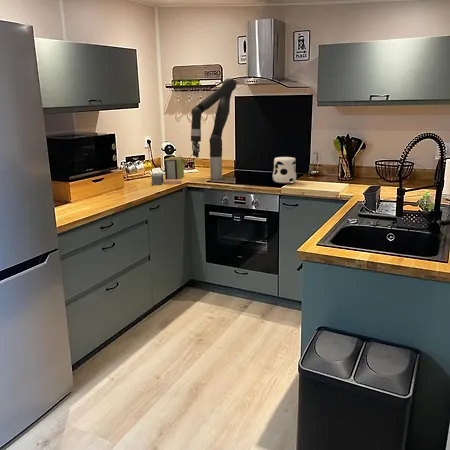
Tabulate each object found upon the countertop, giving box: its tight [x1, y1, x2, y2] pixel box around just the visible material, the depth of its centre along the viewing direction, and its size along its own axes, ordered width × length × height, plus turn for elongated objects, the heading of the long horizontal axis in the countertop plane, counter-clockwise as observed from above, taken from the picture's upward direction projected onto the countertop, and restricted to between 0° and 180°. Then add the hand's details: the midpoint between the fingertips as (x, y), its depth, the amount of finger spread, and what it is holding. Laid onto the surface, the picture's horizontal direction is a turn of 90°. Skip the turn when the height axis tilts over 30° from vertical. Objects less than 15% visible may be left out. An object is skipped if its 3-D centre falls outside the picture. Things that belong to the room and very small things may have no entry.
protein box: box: [163, 156, 185, 180], centre depth 355 cm, size 10×15×16 cm
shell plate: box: [162, 178, 183, 185], centre depth 337 cm, size 13×8×2 cm, turn 90°
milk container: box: [272, 156, 297, 185], centre depth 329 cm, size 17×17×18 cm
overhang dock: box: [150, 172, 165, 186], centre depth 337 cm, size 7×12×6 cm, turn 0°
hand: (195, 156), depth 343 cm, fingers open, 8 cm apart
